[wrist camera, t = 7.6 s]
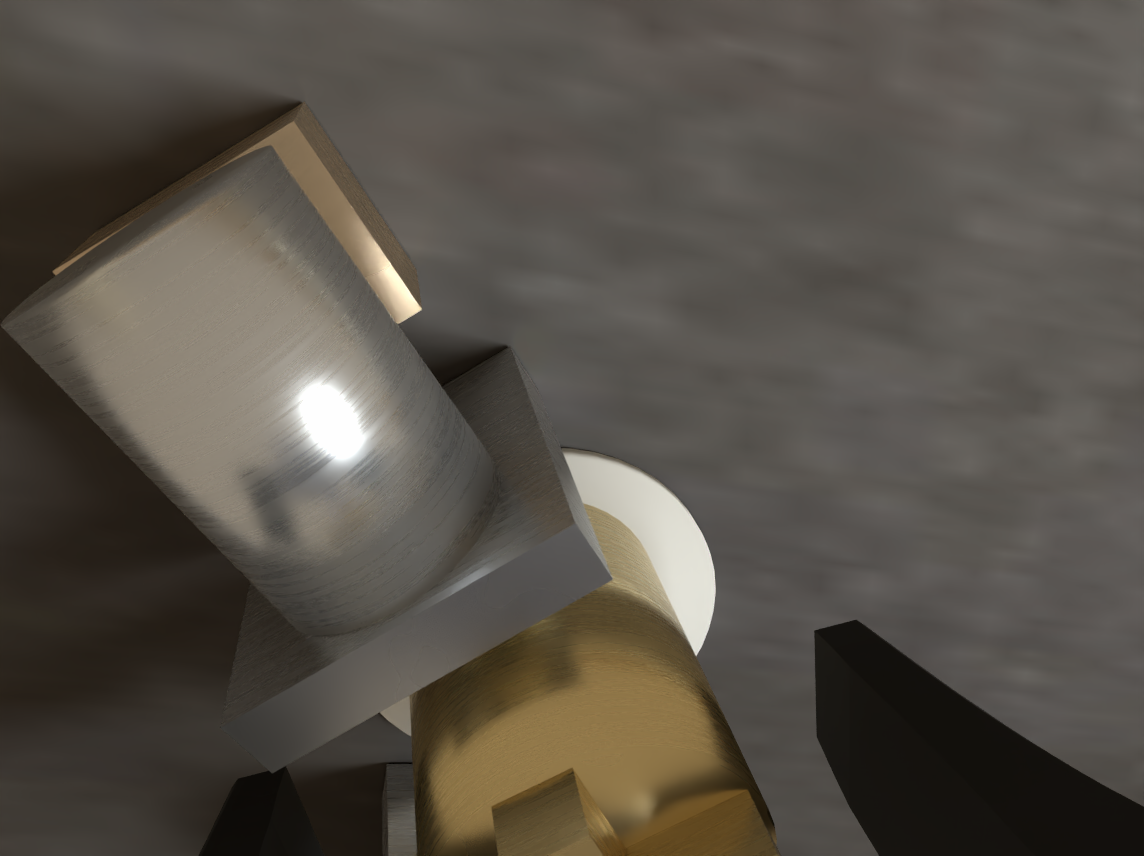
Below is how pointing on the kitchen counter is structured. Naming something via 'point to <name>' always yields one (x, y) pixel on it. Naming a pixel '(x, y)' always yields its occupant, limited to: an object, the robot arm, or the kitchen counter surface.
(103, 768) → the kitchen counter surface
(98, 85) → the kitchen counter surface
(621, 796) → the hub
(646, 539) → the seat
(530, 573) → the shaft
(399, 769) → the shaft
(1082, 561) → the kitchen counter surface
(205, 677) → the kitchen counter surface
